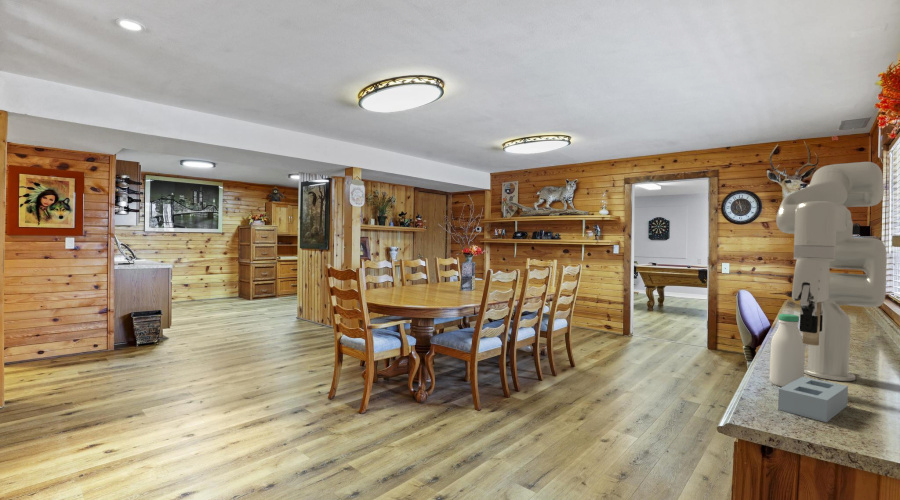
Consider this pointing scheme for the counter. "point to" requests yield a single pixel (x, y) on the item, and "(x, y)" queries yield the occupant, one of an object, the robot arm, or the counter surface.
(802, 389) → the hole block
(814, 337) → the peg
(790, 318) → the milk bottle
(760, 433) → the counter surface
